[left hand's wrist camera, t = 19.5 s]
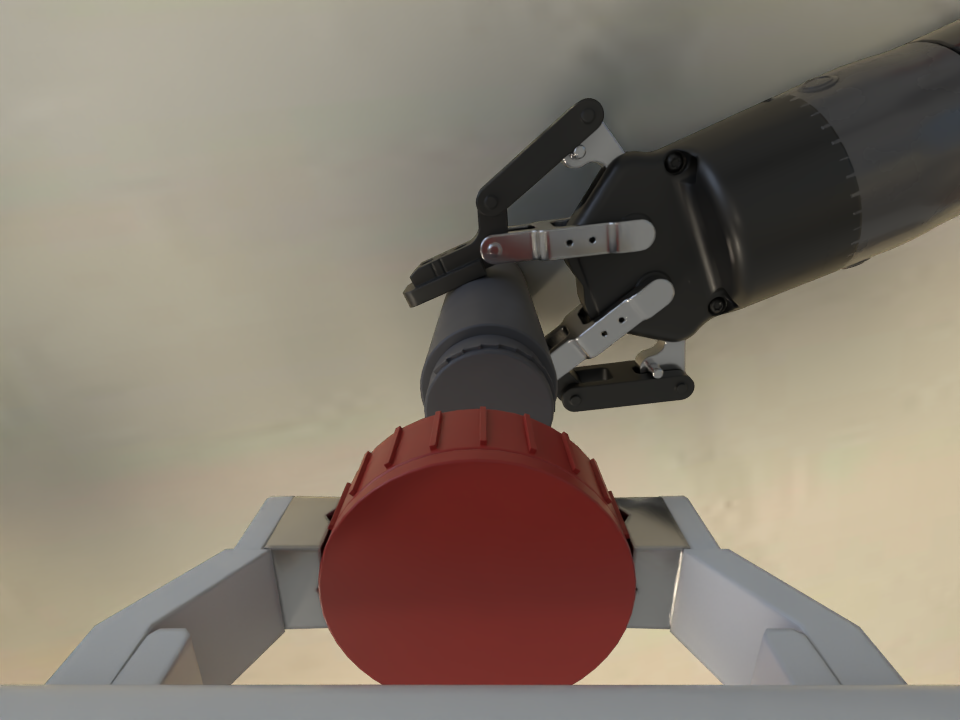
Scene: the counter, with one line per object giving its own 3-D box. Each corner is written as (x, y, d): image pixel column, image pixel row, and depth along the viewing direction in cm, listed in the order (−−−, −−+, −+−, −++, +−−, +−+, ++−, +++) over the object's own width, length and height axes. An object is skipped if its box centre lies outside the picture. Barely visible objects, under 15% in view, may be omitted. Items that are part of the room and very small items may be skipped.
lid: (299, 442, 10) (259, 500, 8) (585, 372, 9) (610, 418, 7) (391, 651, 12) (375, 735, 10) (634, 601, 11) (663, 681, 9)
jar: (542, 290, 29) (597, 413, 15) (487, 341, 30) (488, 502, 16) (488, 234, 28) (489, 308, 14) (433, 290, 29) (382, 412, 15)
